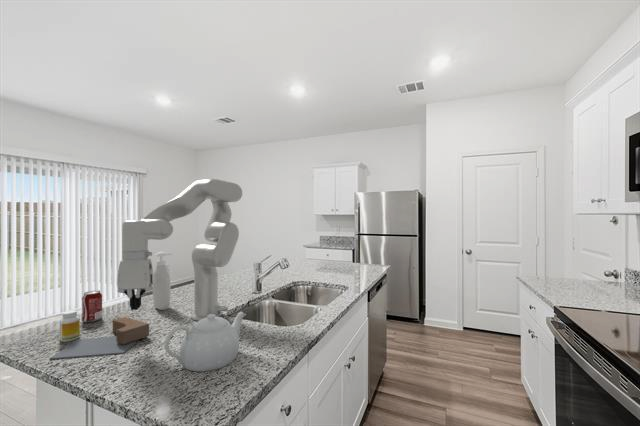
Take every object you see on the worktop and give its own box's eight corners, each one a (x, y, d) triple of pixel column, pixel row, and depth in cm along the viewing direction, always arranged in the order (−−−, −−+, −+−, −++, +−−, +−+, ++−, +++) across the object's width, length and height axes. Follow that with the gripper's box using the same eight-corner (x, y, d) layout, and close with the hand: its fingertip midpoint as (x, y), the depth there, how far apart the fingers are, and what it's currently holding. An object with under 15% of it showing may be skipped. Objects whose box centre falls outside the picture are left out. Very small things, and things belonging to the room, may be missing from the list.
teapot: (194, 345, 99) (193, 305, 99) (247, 345, 99) (247, 305, 99) (162, 376, 81) (162, 327, 81) (228, 376, 80) (227, 327, 80)
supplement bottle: (82, 337, 107) (82, 310, 107) (65, 343, 102) (64, 315, 102) (74, 334, 109) (74, 308, 109) (57, 340, 104) (56, 313, 104)
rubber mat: (142, 335, 108) (142, 334, 108) (124, 353, 94) (124, 352, 94) (79, 340, 104) (79, 339, 104) (49, 359, 90) (49, 358, 90)
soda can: (106, 318, 126) (105, 290, 126) (89, 324, 119) (89, 294, 119) (95, 316, 128) (95, 289, 128) (78, 322, 122) (77, 293, 122)
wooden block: (122, 331, 98) (98, 323, 108) (122, 345, 98) (98, 335, 107) (149, 323, 106) (124, 316, 115) (149, 336, 106) (125, 327, 115)
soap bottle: (178, 308, 138) (177, 251, 138) (159, 313, 132) (159, 253, 132) (166, 302, 147) (165, 249, 147) (148, 306, 141) (148, 251, 141)
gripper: (162, 253, 106) (162, 304, 106) (117, 255, 103) (117, 306, 103) (154, 256, 99) (154, 310, 98) (105, 258, 96) (105, 313, 96)
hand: (135, 308), depth 101 cm, fingers closed
